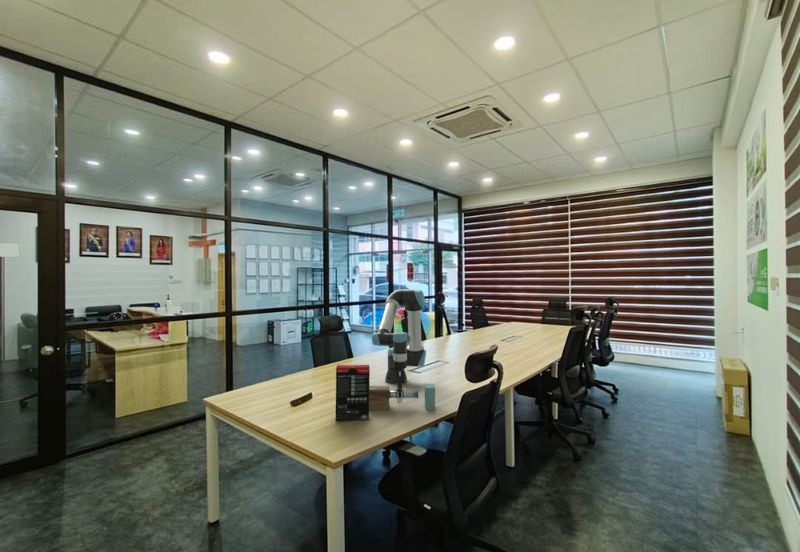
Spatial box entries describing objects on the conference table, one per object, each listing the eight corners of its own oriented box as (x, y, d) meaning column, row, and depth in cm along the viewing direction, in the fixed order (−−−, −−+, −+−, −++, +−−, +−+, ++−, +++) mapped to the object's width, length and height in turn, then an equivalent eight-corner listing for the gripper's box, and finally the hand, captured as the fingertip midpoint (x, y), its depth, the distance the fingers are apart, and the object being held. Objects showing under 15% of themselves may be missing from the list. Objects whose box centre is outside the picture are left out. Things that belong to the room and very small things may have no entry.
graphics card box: (369, 415, 190) (369, 363, 190) (369, 420, 183) (369, 366, 183) (336, 416, 188) (336, 364, 188) (335, 422, 181) (335, 367, 181)
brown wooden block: (368, 405, 205) (368, 385, 205) (389, 405, 205) (389, 385, 205) (366, 409, 198) (366, 389, 198) (388, 409, 198) (388, 389, 198)
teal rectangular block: (424, 404, 205) (424, 383, 205) (433, 404, 205) (433, 383, 205) (425, 410, 197) (425, 387, 197) (435, 410, 197) (434, 387, 197)
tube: (370, 399, 199) (370, 391, 199) (371, 396, 203) (371, 389, 203) (418, 399, 199) (418, 391, 199) (417, 396, 203) (417, 389, 203)
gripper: (393, 355, 214) (393, 391, 213) (392, 365, 189) (392, 406, 189) (406, 355, 214) (406, 391, 213) (407, 365, 189) (407, 406, 188)
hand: (399, 399), depth 201 cm, fingers open, 13 cm apart
